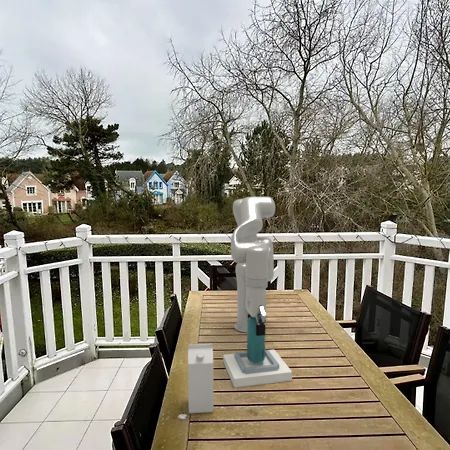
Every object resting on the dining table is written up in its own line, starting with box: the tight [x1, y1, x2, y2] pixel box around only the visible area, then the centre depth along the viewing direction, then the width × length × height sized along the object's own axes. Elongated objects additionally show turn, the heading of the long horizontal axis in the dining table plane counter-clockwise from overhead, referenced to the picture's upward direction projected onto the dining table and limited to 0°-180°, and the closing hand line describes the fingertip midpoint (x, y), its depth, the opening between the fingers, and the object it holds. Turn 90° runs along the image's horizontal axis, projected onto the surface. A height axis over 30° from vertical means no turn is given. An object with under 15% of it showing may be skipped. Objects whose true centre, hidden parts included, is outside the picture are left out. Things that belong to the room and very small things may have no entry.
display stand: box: [222, 348, 293, 389], centre depth 123 cm, size 17×20×4 cm
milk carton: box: [187, 343, 214, 414], centre depth 102 cm, size 7×7×19 cm
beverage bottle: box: [246, 314, 266, 363], centre depth 122 cm, size 6×7×20 cm
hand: (256, 329), depth 122 cm, fingers open, 9 cm apart
